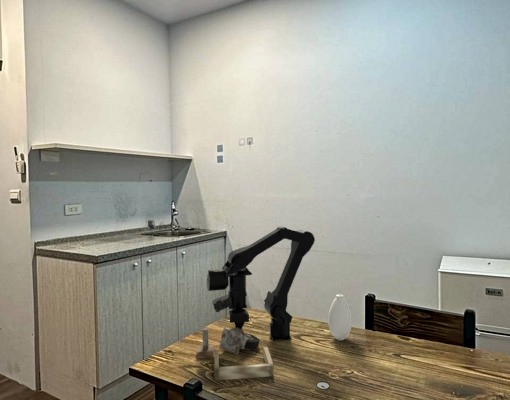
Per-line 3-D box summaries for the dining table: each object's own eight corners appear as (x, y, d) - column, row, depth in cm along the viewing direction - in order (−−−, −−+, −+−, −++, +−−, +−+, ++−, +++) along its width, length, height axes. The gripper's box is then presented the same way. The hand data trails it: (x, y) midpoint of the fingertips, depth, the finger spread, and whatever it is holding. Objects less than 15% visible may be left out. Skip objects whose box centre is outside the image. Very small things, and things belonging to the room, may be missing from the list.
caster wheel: (259, 351, 122) (250, 360, 112) (228, 340, 125) (218, 348, 116) (263, 332, 122) (255, 339, 113) (233, 321, 126) (223, 328, 116)
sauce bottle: (354, 337, 126) (354, 286, 126) (347, 345, 119) (347, 292, 119) (333, 333, 130) (332, 283, 130) (325, 340, 124) (324, 288, 123)
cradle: (267, 356, 113) (267, 346, 113) (273, 376, 101) (273, 365, 101) (214, 359, 111) (214, 350, 111) (214, 380, 99) (214, 369, 99)
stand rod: (213, 350, 117) (213, 326, 117) (213, 357, 112) (213, 332, 112) (198, 351, 117) (197, 326, 117) (197, 358, 112) (196, 333, 112)
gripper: (214, 282, 131) (214, 324, 132) (213, 297, 113) (214, 346, 113) (244, 281, 132) (245, 323, 133) (249, 296, 114) (249, 344, 114)
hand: (238, 333), depth 123 cm, fingers closed
